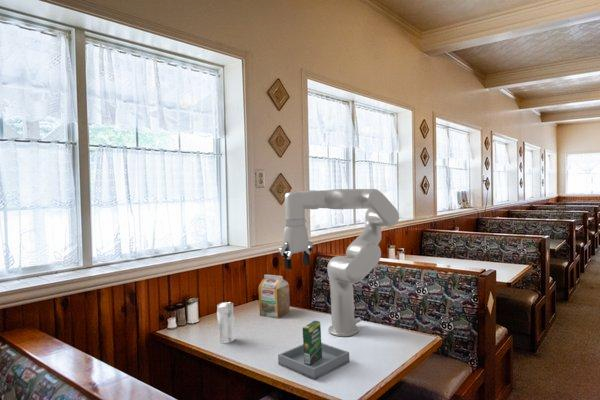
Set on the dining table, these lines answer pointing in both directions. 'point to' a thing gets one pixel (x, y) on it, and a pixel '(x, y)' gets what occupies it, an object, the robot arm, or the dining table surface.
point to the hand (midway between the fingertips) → (297, 266)
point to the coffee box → (312, 342)
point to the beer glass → (226, 321)
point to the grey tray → (321, 367)
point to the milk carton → (274, 297)
